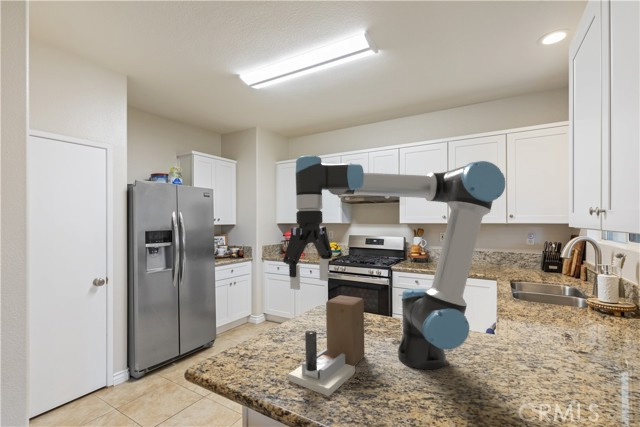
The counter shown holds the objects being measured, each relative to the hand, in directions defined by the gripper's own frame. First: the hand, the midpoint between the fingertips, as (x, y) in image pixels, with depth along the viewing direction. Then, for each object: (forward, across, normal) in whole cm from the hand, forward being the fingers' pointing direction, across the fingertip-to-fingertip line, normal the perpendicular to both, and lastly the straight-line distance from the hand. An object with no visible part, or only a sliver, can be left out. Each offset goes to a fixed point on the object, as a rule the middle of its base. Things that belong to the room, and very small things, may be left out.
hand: (310, 284), depth 85 cm
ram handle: (+26, -4, 0) cm, 26 cm away
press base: (+28, -5, 0) cm, 29 cm away
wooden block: (+29, -19, 0) cm, 35 cm away
